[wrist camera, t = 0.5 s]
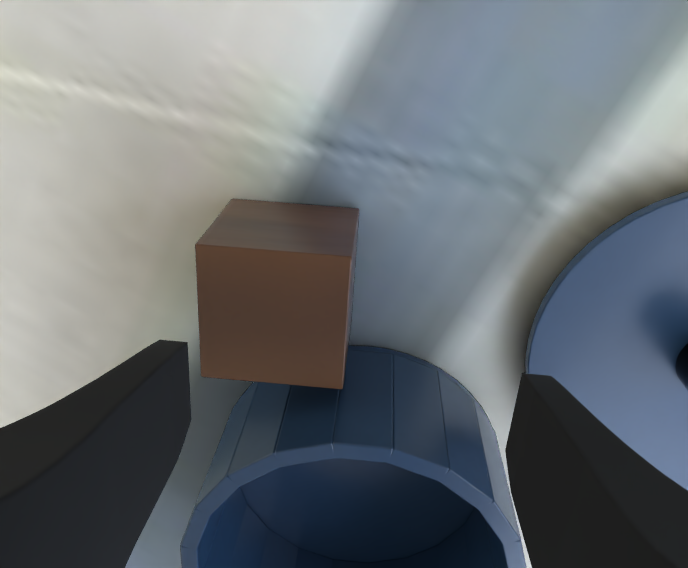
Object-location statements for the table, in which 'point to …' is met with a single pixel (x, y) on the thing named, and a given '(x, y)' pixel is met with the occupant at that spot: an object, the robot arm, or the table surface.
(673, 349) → the lid
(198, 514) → the bowl
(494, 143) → the table surface
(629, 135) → the table surface
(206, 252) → the block
